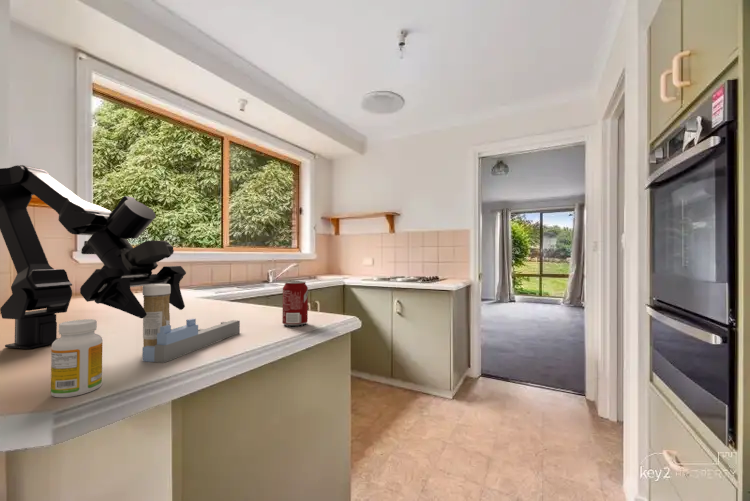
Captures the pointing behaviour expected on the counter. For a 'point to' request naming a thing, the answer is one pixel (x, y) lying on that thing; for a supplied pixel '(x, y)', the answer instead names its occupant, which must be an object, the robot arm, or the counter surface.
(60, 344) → the supplement bottle
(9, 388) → the counter surface
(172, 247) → the robot arm
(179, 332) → the grey long notched block
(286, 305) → the soda can
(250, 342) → the counter surface
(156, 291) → the sprinkles bottle
